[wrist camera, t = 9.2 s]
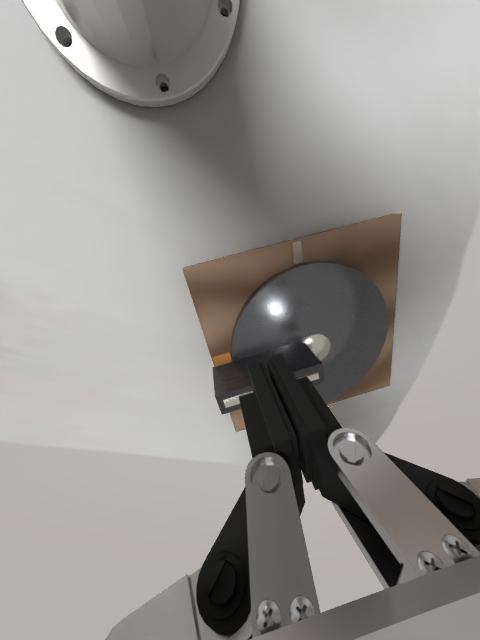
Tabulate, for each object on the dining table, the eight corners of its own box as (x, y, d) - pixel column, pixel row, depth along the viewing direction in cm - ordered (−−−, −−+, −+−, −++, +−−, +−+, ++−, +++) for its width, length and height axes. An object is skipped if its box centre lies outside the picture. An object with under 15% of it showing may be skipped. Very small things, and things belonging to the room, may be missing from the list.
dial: (234, 423, 26) (242, 468, 22) (188, 295, 20) (185, 319, 15) (378, 377, 27) (417, 410, 22) (380, 240, 21) (436, 245, 16)
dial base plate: (183, 267, 20) (182, 270, 19) (393, 213, 21) (404, 213, 20) (234, 425, 28) (236, 434, 27) (384, 380, 30) (391, 387, 28)
